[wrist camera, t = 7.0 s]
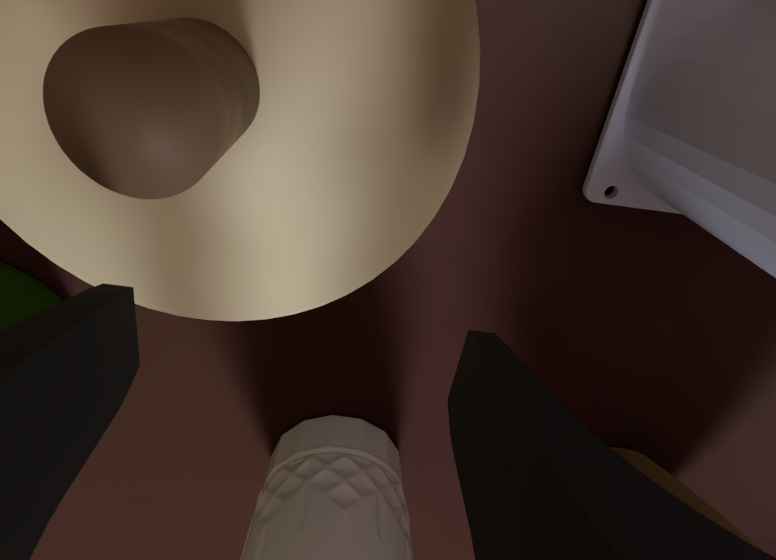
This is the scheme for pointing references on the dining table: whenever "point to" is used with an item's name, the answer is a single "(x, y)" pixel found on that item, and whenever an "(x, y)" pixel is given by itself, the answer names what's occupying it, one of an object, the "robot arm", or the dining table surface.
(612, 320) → the dining table surface
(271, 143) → the lid
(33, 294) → the wine bottle
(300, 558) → the white cup
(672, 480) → the plant pot
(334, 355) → the dining table surface
